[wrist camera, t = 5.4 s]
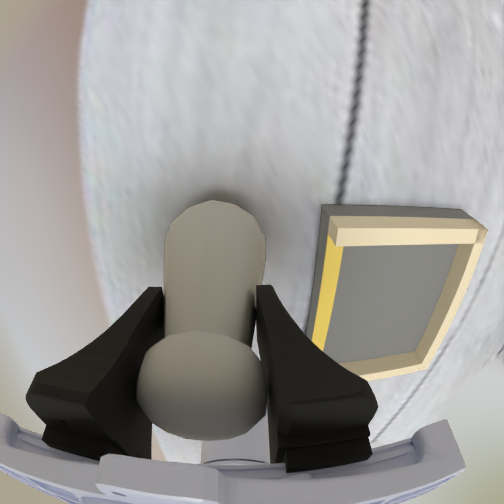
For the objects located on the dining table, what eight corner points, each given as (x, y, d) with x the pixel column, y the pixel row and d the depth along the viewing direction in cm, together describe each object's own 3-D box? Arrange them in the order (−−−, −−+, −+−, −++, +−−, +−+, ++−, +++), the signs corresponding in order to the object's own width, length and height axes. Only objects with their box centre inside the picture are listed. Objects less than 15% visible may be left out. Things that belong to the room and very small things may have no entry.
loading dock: (413, 343, 29) (426, 368, 25) (301, 358, 28) (307, 389, 25) (461, 209, 21) (488, 229, 17) (322, 204, 20) (337, 228, 17)
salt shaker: (155, 215, 18) (69, 389, 7) (235, 171, 17) (234, 337, 6) (203, 282, 21) (183, 463, 10) (277, 248, 20) (319, 434, 9)
